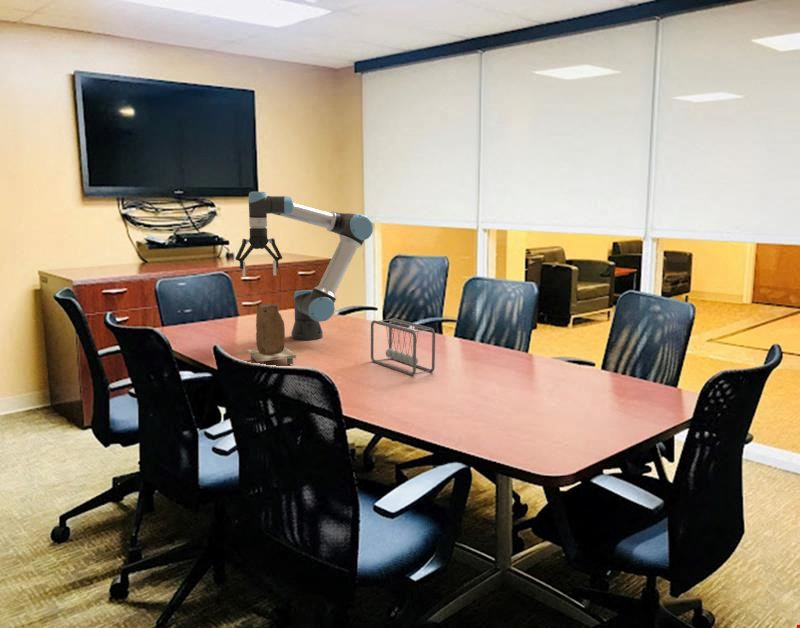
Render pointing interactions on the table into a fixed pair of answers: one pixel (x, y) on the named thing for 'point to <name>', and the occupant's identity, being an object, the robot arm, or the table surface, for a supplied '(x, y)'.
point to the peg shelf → (272, 356)
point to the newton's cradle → (402, 356)
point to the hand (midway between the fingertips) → (259, 276)
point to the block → (269, 329)
